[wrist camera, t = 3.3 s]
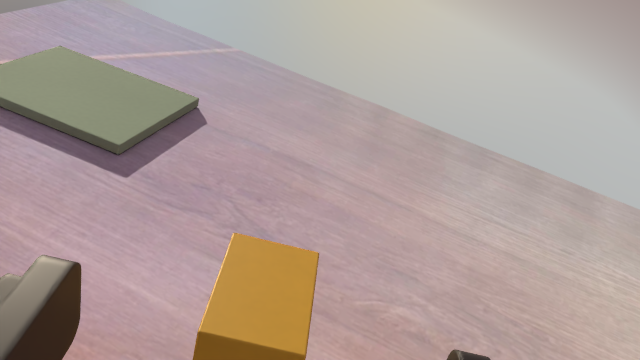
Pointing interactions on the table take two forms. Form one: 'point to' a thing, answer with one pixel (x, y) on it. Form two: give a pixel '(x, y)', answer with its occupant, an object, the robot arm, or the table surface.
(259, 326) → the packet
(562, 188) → the table surface
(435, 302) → the table surface
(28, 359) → the robot arm
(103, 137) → the mat
